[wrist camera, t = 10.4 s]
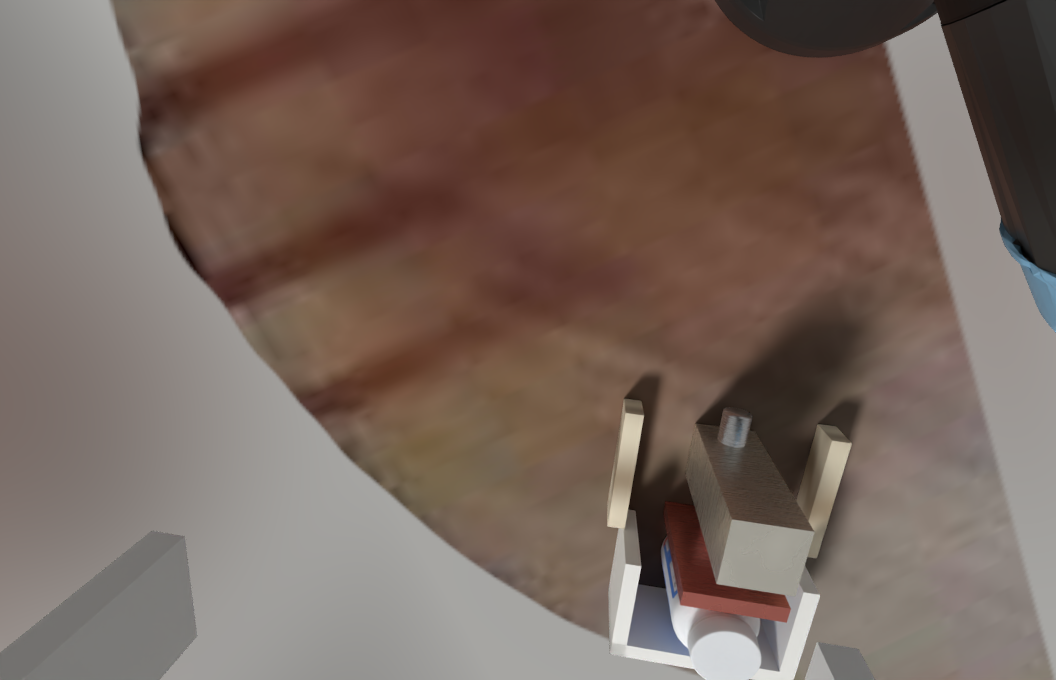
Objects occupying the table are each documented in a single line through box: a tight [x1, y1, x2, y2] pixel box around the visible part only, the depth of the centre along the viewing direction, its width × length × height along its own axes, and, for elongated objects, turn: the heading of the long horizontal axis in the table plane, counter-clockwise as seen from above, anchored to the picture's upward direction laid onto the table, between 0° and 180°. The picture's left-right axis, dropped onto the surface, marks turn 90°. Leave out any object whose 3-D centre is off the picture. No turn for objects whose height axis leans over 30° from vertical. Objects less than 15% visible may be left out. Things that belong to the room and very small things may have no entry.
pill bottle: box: [661, 536, 761, 680], centre depth 36 cm, size 6×5×10 cm
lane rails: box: [607, 399, 852, 558], centre depth 37 cm, size 9×14×2 cm, turn 85°
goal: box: [608, 510, 820, 680], centre depth 38 cm, size 8×12×6 cm, turn 85°
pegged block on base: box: [663, 407, 814, 623], centre depth 33 cm, size 10×6×11 cm, turn 175°
